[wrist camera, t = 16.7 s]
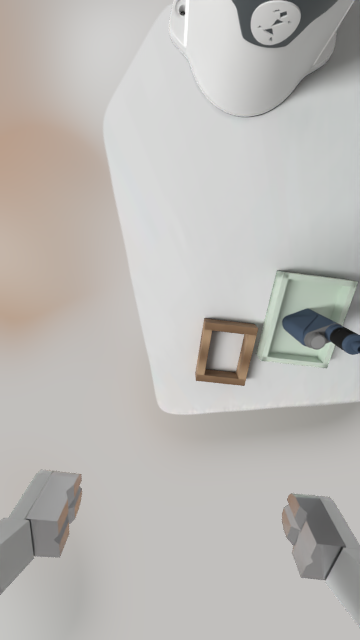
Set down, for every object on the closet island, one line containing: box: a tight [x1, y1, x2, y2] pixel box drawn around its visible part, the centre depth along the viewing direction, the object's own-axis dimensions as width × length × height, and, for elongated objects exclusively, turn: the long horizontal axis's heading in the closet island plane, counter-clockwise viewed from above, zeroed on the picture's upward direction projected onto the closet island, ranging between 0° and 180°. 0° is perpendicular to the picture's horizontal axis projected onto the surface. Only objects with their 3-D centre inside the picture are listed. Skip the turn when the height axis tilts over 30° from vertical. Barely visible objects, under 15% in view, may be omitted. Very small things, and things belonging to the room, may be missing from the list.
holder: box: [195, 318, 258, 386], centre depth 38 cm, size 10×8×2 cm
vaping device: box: [282, 309, 360, 355], centre depth 31 cm, size 3×5×12 cm, turn 112°
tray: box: [256, 271, 358, 368], centre depth 36 cm, size 14×11×2 cm
